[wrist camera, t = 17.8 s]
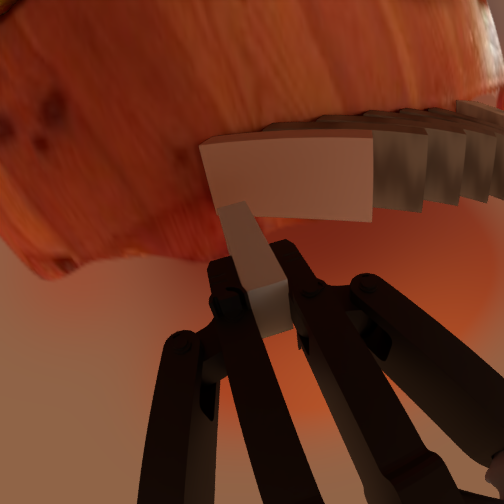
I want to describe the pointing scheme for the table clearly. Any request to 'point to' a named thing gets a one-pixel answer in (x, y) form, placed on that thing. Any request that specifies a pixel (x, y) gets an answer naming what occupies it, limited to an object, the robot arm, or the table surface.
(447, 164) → the domino
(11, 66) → the table surface
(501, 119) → the bookend block
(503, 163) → the domino
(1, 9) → the fruit
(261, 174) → the domino
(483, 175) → the domino
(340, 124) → the domino
